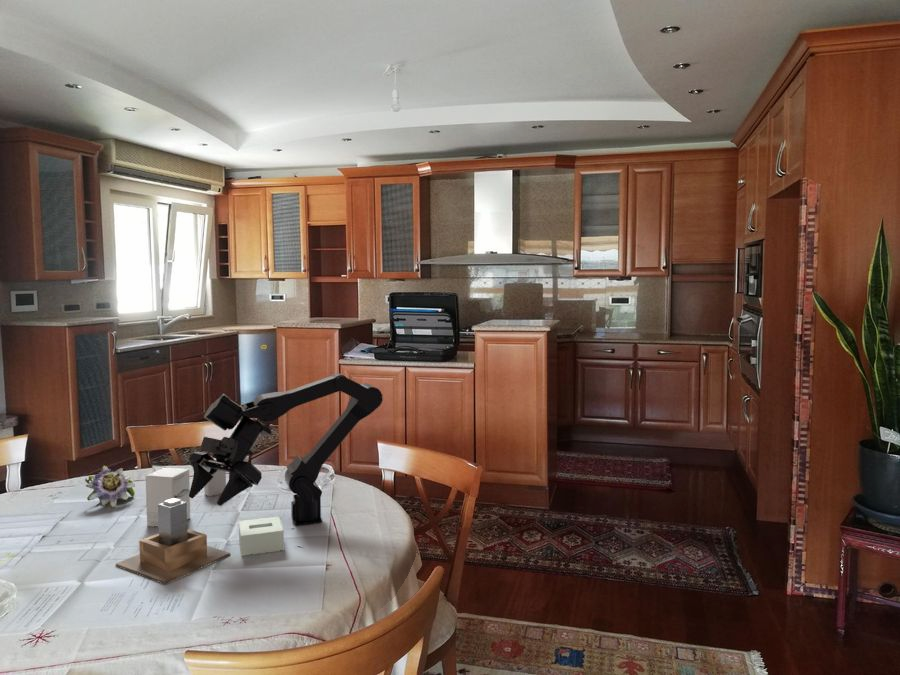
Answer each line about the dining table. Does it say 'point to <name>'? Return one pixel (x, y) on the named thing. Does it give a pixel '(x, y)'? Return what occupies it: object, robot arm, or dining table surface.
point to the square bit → (172, 522)
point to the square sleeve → (172, 557)
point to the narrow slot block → (261, 536)
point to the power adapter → (216, 483)
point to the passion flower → (110, 486)
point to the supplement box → (166, 490)
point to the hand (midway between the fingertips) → (204, 501)
